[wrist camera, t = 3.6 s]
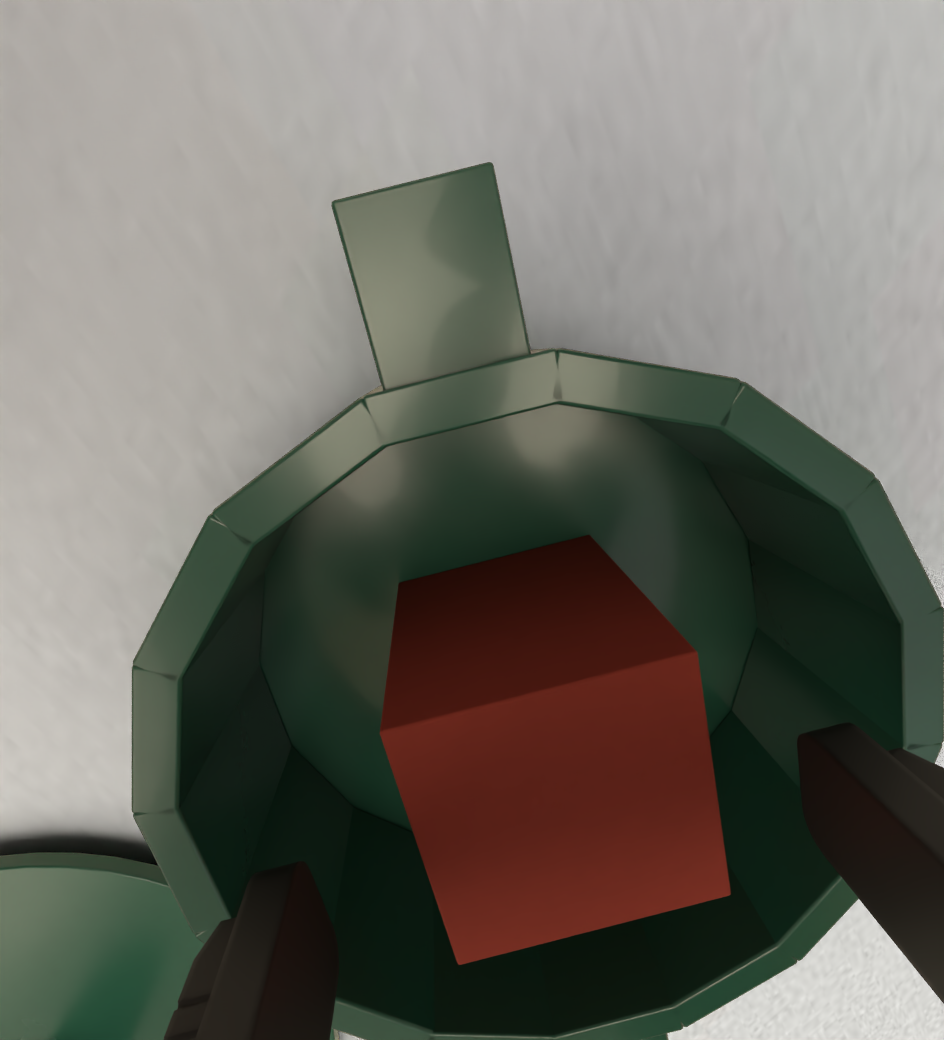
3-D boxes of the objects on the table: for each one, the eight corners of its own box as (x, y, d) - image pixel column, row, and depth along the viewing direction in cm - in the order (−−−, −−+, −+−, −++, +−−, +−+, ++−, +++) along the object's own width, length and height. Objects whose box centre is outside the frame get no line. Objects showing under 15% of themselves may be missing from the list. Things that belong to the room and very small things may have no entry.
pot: (733, 164, 13) (949, 30, 7) (797, 850, 18) (944, 1046, 13) (97, 323, 13) (-137, 298, 7) (358, 963, 18) (330, 1205, 13)
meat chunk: (589, 533, 14) (698, 651, 9) (621, 700, 16) (732, 896, 10) (398, 582, 14) (378, 732, 9) (446, 744, 16) (457, 967, 10)
